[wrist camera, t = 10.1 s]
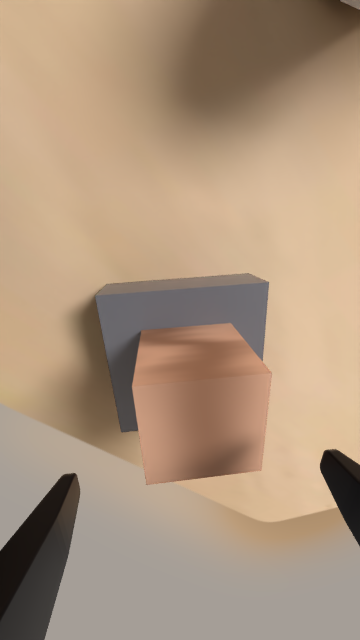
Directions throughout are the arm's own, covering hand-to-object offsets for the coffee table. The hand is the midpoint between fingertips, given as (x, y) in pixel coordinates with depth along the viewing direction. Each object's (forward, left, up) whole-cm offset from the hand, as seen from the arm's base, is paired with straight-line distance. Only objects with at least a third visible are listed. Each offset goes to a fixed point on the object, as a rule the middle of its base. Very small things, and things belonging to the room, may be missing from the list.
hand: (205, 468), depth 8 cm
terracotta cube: (0, -1, -8) cm, 8 cm away
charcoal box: (0, -1, -12) cm, 12 cm away
